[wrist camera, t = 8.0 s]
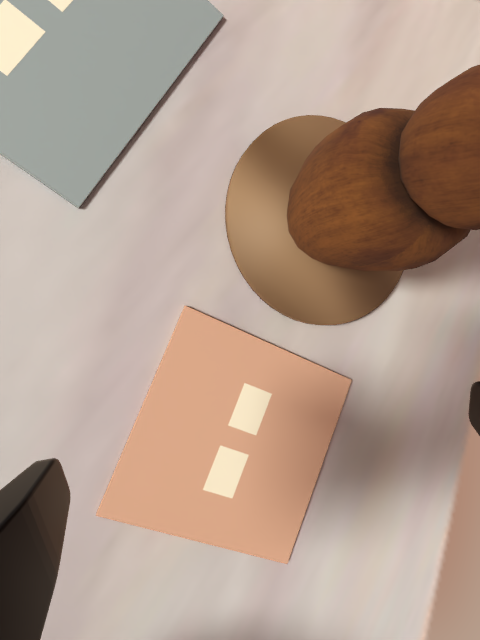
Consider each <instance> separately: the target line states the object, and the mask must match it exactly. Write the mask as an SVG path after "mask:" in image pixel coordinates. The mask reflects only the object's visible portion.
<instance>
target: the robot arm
mask: <svg viewBox="0 0 480 640" xmlns="http://www.w3.org/2000/svg"><path fill="white" fill-rule="evenodd" d="M469 419H470V422H471V424H472V426H473V427H474V429H475V430H476V431H477V433H478V434H479V436H480V381H479V382H475V383H474V384H473V385H472V387H471V393H470V404H469ZM69 505H70V489H69V486H68V483H67V480H66V478H65V475H64V472H63V469H62V466H61V464H60V462H59V460H58V459H55V458H52V459H46V460H41V461H37V462H35V463H33V464H32V465H31V466H30V467H28V468H27V469H26V470H25V471H23V472H22V473H21V474H20V475H18V476H17V477H16V478H15V479H13V480H12V481H11V482H10V483H8V484H7V485H6V486H5V487H4V488H2V489H1V490H0V640H40V639H41V635H42V631H43V628H44V624H45V620H46V617H47V613H48V610H49V606H50V602H51V599H52V595H53V591H54V588H55V584H56V580H57V576H58V570H59V565H60V559H61V553H62V547H63V541H64V535H65V529H66V523H67V517H68V511H69Z"/></svg>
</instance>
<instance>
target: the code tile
mask: <svg viewBox="0 0 480 640" xmlns="http://www.w3.org/2000/svg"><path fill="white" fill-rule="evenodd" d="M223 16H224V15H223V14H222V13H221V12H219V11H218V10H217V9H216V8H215V7H214V6H213V5H212V4H211V3H210V2H209V1H208V0H0V154H1V155H2V156H4V157H5V158H7V159H8V160H10V161H11V162H13V163H14V164H15V165H17V166H18V167H20V168H21V169H23V170H24V171H25V172H27V173H28V174H30V175H31V176H33V177H34V178H36V179H37V180H38V181H40V182H41V183H43V184H44V185H46V186H47V187H48V188H50V189H51V190H53V191H54V192H56V193H57V194H59V195H60V196H61V197H63V198H64V199H66V200H67V201H69V202H70V203H72V204H73V205H74V206H76V207H77V208H80V206H81V205H82V204H83V202H84V201H85V200H86V198H87V197H88V196H89V194H90V193H91V192H92V190H93V189H94V188H95V186H96V185H97V184H98V182H99V181H100V180H101V179H102V177H103V176H104V175H105V173H106V172H107V171H108V169H109V168H110V167H111V165H112V164H113V163H114V161H115V160H116V159H117V157H118V156H119V155H120V153H121V152H122V151H123V149H124V148H125V147H126V145H127V144H128V143H129V141H130V140H131V139H132V137H133V136H134V135H135V133H136V132H137V131H138V129H139V128H140V127H141V125H142V124H143V123H144V122H145V120H146V119H147V118H148V116H149V115H150V114H151V112H152V111H153V110H154V108H155V107H156V106H157V104H158V103H159V102H160V100H161V99H162V98H163V96H164V95H165V94H166V92H167V91H168V90H169V88H170V87H171V86H172V84H173V83H174V82H175V80H176V79H177V78H178V76H179V75H180V74H181V72H182V71H183V70H184V69H185V67H186V66H187V65H188V63H189V62H190V61H191V59H192V58H193V57H194V55H195V54H196V53H197V51H198V50H199V49H200V47H201V46H202V45H203V43H204V42H205V41H206V39H207V38H208V37H209V35H210V34H211V33H212V31H213V30H214V29H215V27H216V26H217V25H218V23H219V22H220V21H221V19H222V18H223Z"/></svg>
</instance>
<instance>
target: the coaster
mask: <svg viewBox="0 0 480 640" xmlns="http://www.w3.org/2000/svg"><path fill="white" fill-rule="evenodd" d="M343 124H345V122H343V121H340V120H337V119H334V118H330V117H325V116H315V115H306V116H298V117H294V118H290V119H287V120H284V121H282V122H279V123H277V124H275V125H273V126H272V127H270V128H269V129H267V130H266V131H264V132H263V133H262V134H261V135H260V136H259V137H258V138H256V139H255V140H254V141H253V143H252V144H251V145H250V146H249V147H248V149H247V150H246V151H245V152H244V154H243V155H242V156H241V158H240V160H239V162H238V163H237V165H236V167H235V169H234V172H233V174H232V177H231V179H230V183H229V187H228V191H227V197H226V206H225V222H226V230H227V237H228V241H229V244H230V248H231V252H232V254H233V257H234V259H235V262H236V264H237V266H238V268H239V270H240V272H241V274H242V275H243V277H244V279H245V280H246V281H247V283H248V284H249V286H250V287H251V288H252V290H253V291H254V292H255V293H256V294H257V295H258V296H259V297H260V298H261V299H262V300H263V301H264V302H265V303H267V304H268V305H269V306H270V307H271V308H273V309H275V310H276V311H278V312H279V313H281V314H282V315H285V316H287V317H289V318H291V319H293V320H296V321H300V322H303V323H308V324H315V325H336V324H342V323H347V322H350V321H353V320H356V319H359V318H361V317H363V316H365V315H367V314H368V313H370V312H371V311H373V310H374V309H375V308H377V307H378V306H379V305H380V304H381V303H382V302H383V301H384V300H385V299H386V298H387V297H388V296H389V294H390V293H391V292H392V291H393V289H394V287H395V286H396V284H397V283H398V281H399V279H400V277H401V275H402V272H403V270H401V271H361V270H355V269H349V268H343V267H338V266H332V265H327V264H324V263H322V262H320V261H317V260H315V259H312V258H311V257H309V256H308V255H307V254H306V253H304V252H303V251H302V250H300V249H299V248H298V247H297V245H296V244H295V242H294V240H293V238H292V237H291V235H290V233H289V230H288V222H287V208H288V201H289V193H290V189H291V187H292V185H293V183H294V181H295V180H296V178H297V176H298V174H299V172H300V170H301V168H302V166H303V164H304V162H305V160H306V158H307V157H308V156H309V154H310V153H311V152H312V150H313V149H314V148H315V146H317V145H318V144H319V143H320V142H321V141H322V140H323V139H324V138H325V137H326V136H327V135H329V134H330V133H332V132H333V131H334V130H336V129H337V128H339V127H340V126H342V125H343Z"/></svg>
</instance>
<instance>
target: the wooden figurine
mask: <svg viewBox="0 0 480 640" xmlns="http://www.w3.org/2000/svg"><path fill="white" fill-rule="evenodd" d="M287 222H288V230H289V233H290V235H291V237H292V238H293V240H294V242H295V244H296V245H297V247H298V248H299V249H300V250H302V251H303V252H304V253H306V254H307V255H308V256H309V257H311V258H312V259H315V260H317V261H320V262H322V263H324V264H327V265H332V266H338V267H343V268H349V269H355V270H361V271H401V270H407V269H413V268H417V267H420V266H422V265H425V264H428V263H430V262H433V261H435V260H436V259H438V258H439V257H440V256H442V255H443V254H444V253H446V252H447V251H448V250H450V249H451V248H452V247H453V246H455V245H456V244H457V243H459V242H460V241H461V240H463V239H464V238H465V237H467V235H468V233H469V232H470V230H478V229H480V65H477V66H474V67H472V68H470V69H468V70H466V71H465V72H463V73H462V74H460V75H458V76H457V77H455V78H453V79H452V80H450V81H449V82H447V83H446V84H444V85H443V86H441V87H440V88H438V89H437V90H435V91H434V92H433V93H432V94H431V95H430V96H428V97H427V98H426V99H425V100H424V101H423V102H422V103H421V104H420V105H419V106H418V108H417V109H416V111H413V110H406V109H393V108H378V109H375V110H371V111H367V112H364V113H362V114H360V115H358V116H357V117H355V118H353V119H352V120H350V121H348V122H347V123H345V124H343V125H342V126H340V127H339V128H337V129H336V130H334V131H333V132H332V133H330V134H329V135H327V136H326V137H325V138H324V139H323V140H322V141H321V142H320V143H319V144H318V145H317V146H315V148H314V149H313V150H312V152H311V153H310V154H309V156H308V157H307V158H306V160H305V162H304V164H303V166H302V168H301V170H300V172H299V174H298V176H297V178H296V180H295V181H294V183H293V185H292V187H291V189H290V193H289V201H288V208H287Z"/></svg>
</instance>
